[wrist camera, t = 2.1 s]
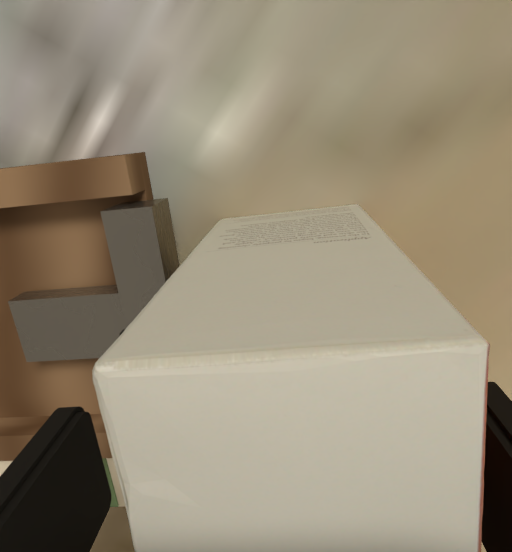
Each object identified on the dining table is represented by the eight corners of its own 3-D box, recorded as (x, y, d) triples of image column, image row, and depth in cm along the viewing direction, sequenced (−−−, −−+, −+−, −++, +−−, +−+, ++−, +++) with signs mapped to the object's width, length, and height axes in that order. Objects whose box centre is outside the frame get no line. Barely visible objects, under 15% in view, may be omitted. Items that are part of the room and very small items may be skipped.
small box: (370, 365, 21) (481, 707, 8) (241, 374, 22) (170, 699, 9) (362, 198, 18) (501, 338, 6) (216, 215, 19) (72, 369, 7)
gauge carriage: (167, 198, 18) (151, 206, 16) (218, 493, 23) (211, 528, 21) (1, 214, 19) (-34, 224, 17) (84, 495, 23) (65, 529, 22)
